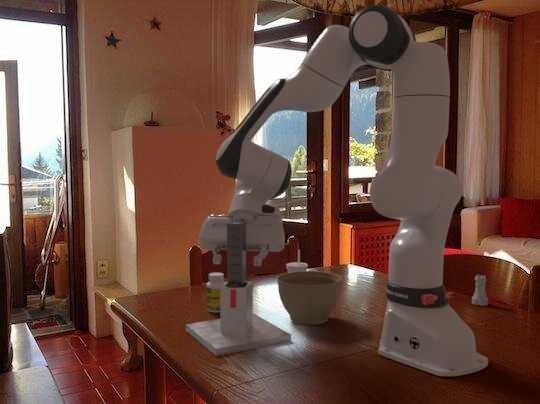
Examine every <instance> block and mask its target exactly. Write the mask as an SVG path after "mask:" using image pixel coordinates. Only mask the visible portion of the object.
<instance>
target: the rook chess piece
mask: <svg viewBox="0 0 540 404" xmlns="http://www.w3.org/2000/svg"><path fill="white" fill-rule="evenodd" d="M486 277H487V276H486V275H483V274H481V275H480V274H476V275H475V277H474V280H475V284H474V285H475V288H474V289H475V290H474V294H473V295H472V297H471V304H473V305H474V304H475V305H474V306H478V305H480V306H479V307H486V306H488V305H489V302H488V301H489V298H488V295H487V293H486V282H487V278H486Z"/></svg>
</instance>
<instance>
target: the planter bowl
mask: <svg viewBox="0 0 540 404" xmlns="http://www.w3.org/2000/svg"><path fill="white" fill-rule="evenodd" d="M342 279H343V278H342V276H340V275H339V274H335V273H333V272H332V273H331V272H328V271H318V270H317V271H316V270H309V271H308V270H307V271H298V272H290V273H288V272H285V273H282V274H280V275H278V276H277V277H276V282H277V287H278V288H277V289H278V294H279V295H278V296H279V298H280V302H281V303H282V305H283V307H284V309H285V310H286V312H287V314H288V315H289V318H290V320H291V322H293V323H295V324H298V325H299V324H300V325H307V326H310V325H311V326H312V325H314V326H316V325H318V326H319V325H320V324H321V325H322V324H324V323H327V322H328V321H329V318H330V316H331V314H332V312H333V311H334V310H335V308H336V306H337V304H338V301H339V299H340V295H341V286H342V281H343V280H342Z"/></svg>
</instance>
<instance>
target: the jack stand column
mask: <svg viewBox="0 0 540 404" xmlns="http://www.w3.org/2000/svg"><path fill="white" fill-rule="evenodd" d="M226 270H227V271H226V278H227V279H226V281H227V286H228V283H239V287H245V286H246V281H247V251H246V222H229V223H227V250H226Z"/></svg>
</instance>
